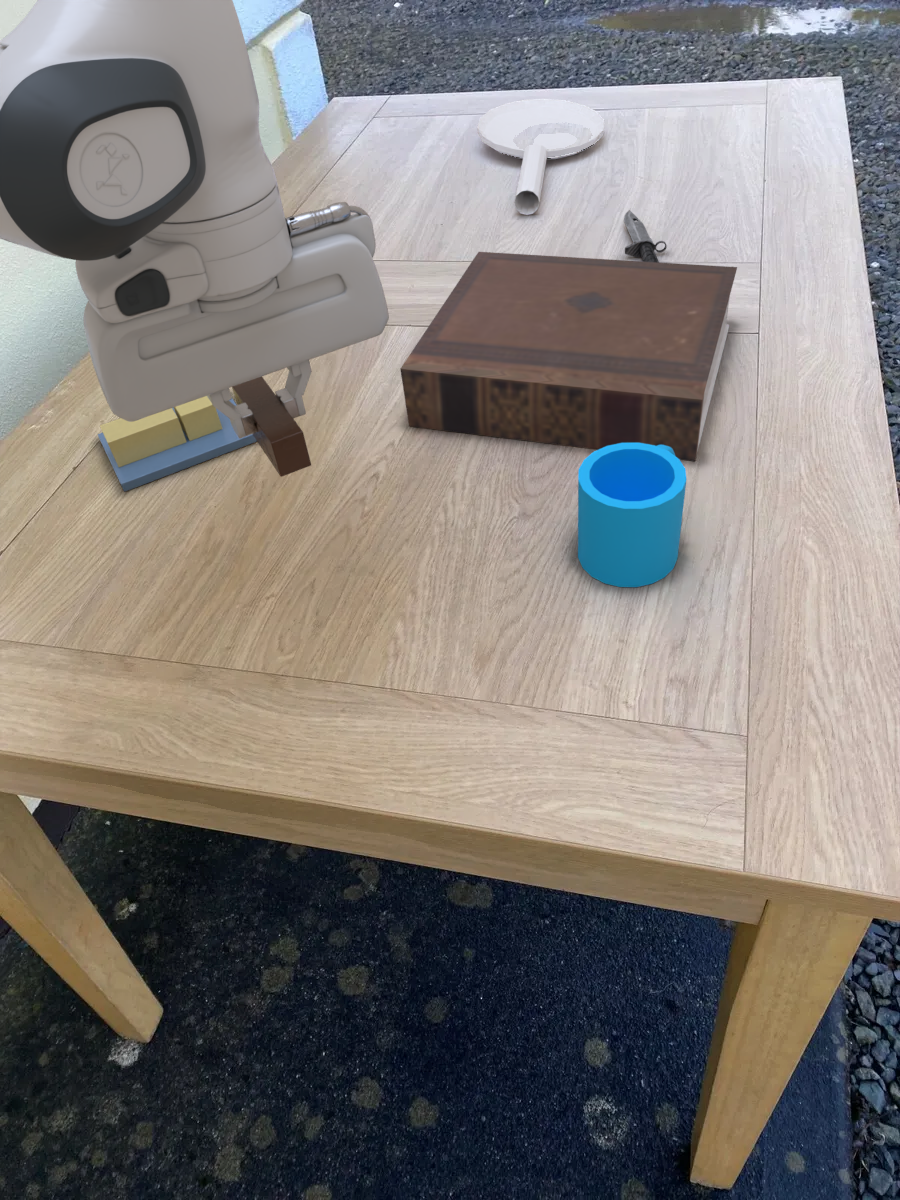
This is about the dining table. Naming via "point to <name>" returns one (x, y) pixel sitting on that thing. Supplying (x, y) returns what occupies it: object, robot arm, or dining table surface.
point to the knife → (640, 240)
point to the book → (573, 352)
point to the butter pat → (198, 418)
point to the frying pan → (536, 139)
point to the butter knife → (274, 427)
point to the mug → (630, 513)
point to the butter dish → (179, 455)
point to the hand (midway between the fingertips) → (269, 423)
